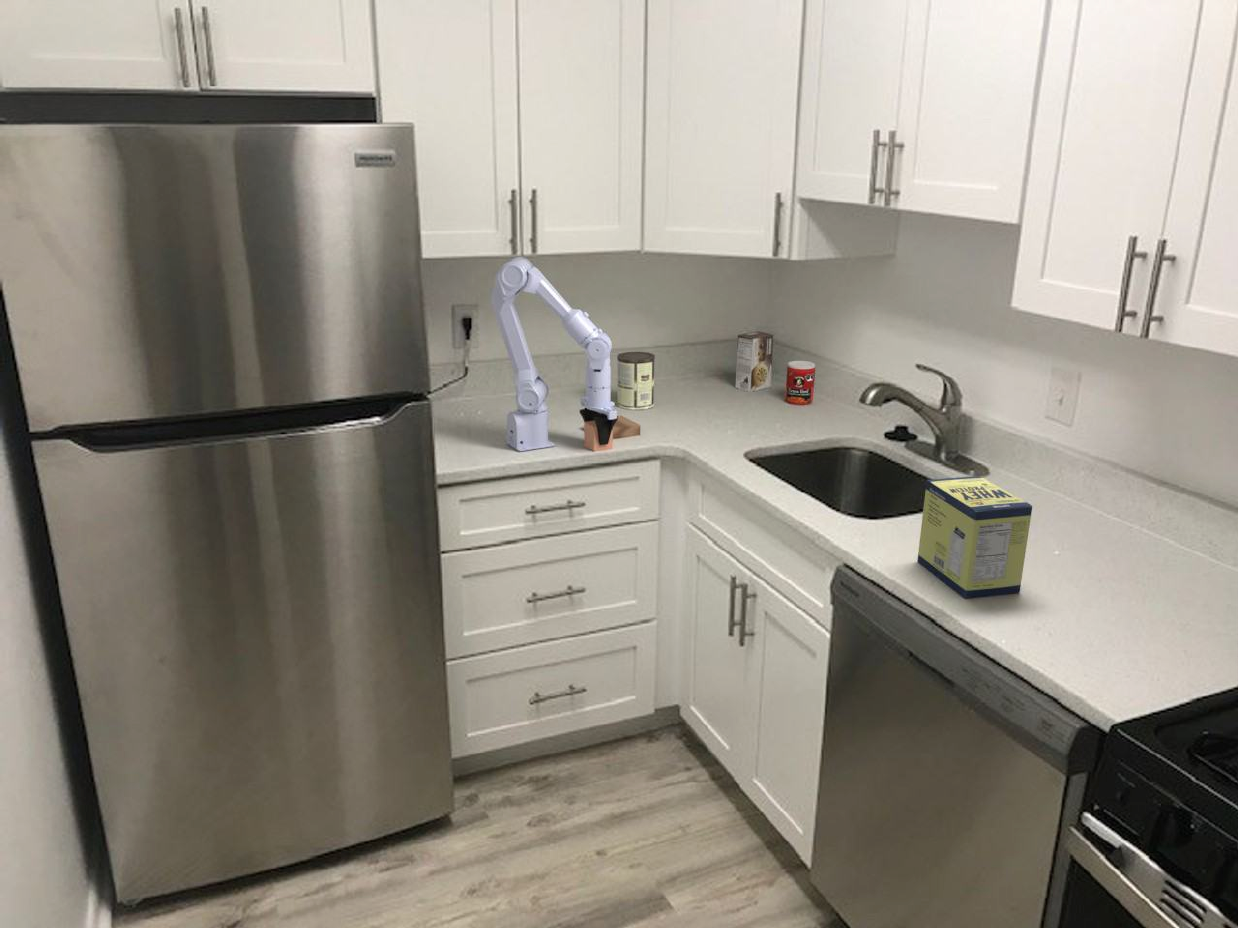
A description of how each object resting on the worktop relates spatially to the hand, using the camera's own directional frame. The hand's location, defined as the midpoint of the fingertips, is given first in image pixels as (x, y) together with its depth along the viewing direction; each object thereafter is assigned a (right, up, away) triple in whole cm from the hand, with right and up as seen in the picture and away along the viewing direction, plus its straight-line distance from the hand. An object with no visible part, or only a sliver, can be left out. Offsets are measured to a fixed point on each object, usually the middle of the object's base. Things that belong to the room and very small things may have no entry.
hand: (598, 441), depth 232 cm
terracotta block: (0, -1, 0) cm, 2 cm away
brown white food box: (+45, +17, +57) cm, 74 cm away
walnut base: (+4, +2, +12) cm, 13 cm away
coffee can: (+10, +11, +37) cm, 40 cm away
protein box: (+64, -25, -66) cm, 96 cm away
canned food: (+56, +12, +42) cm, 71 cm away
